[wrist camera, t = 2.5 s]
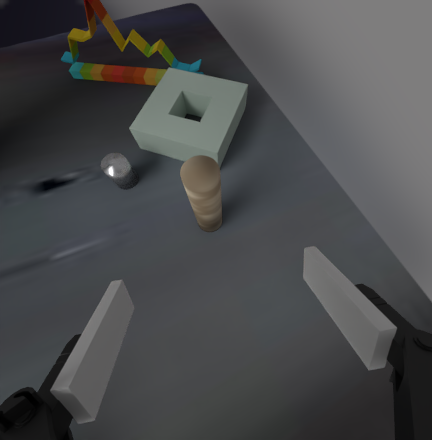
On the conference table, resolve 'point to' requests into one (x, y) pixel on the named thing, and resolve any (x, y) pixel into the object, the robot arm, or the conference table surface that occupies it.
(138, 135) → the hole block
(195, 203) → the tall beech pin
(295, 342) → the conference table surface
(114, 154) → the short metal pin
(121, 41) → the chart
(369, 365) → the robot arm
